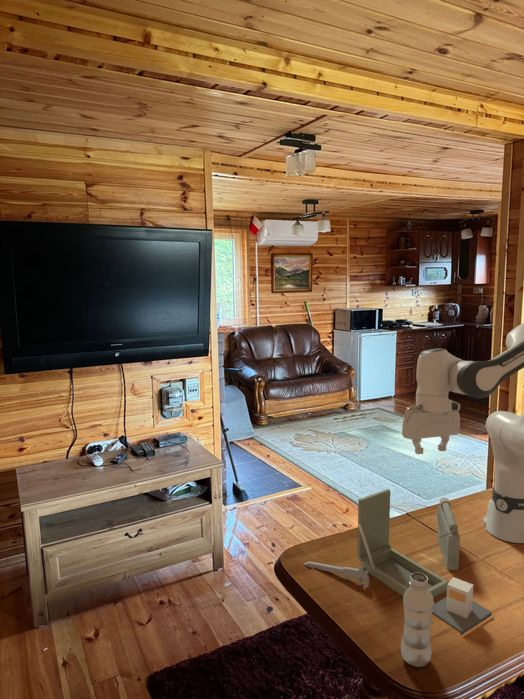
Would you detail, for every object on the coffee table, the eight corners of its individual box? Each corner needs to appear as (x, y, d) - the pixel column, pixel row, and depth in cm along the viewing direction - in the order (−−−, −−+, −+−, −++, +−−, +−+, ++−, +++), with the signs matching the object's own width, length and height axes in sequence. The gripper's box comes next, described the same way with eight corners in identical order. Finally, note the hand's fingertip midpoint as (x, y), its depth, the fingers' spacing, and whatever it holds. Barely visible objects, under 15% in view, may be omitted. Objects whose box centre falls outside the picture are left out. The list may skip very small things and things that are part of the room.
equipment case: (386, 553, 151) (387, 488, 148) (447, 591, 133) (451, 518, 130) (355, 567, 145) (356, 500, 141) (415, 609, 126) (418, 533, 123)
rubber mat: (456, 594, 132) (456, 591, 132) (491, 615, 124) (491, 612, 124) (426, 611, 126) (427, 607, 125) (461, 635, 117) (461, 631, 117)
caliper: (369, 589, 135) (369, 567, 134) (367, 591, 134) (368, 569, 133) (305, 564, 147) (305, 544, 146) (303, 565, 146) (303, 546, 145)
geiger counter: (464, 528, 139) (450, 489, 163) (441, 525, 140) (429, 488, 165) (462, 573, 141) (447, 529, 165) (438, 571, 143) (427, 527, 167)
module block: (451, 601, 128) (453, 577, 127) (471, 610, 124) (473, 584, 123) (445, 610, 124) (447, 584, 123) (466, 619, 121) (467, 592, 120)
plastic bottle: (394, 655, 112) (396, 573, 108) (417, 645, 114) (420, 565, 111) (413, 675, 106) (417, 590, 103) (438, 664, 109) (441, 581, 106)
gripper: (414, 407, 135) (413, 458, 135) (464, 404, 145) (463, 451, 146) (397, 404, 141) (396, 453, 141) (446, 402, 151) (445, 447, 151)
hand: (430, 452), depth 143 cm, fingers open, 8 cm apart
